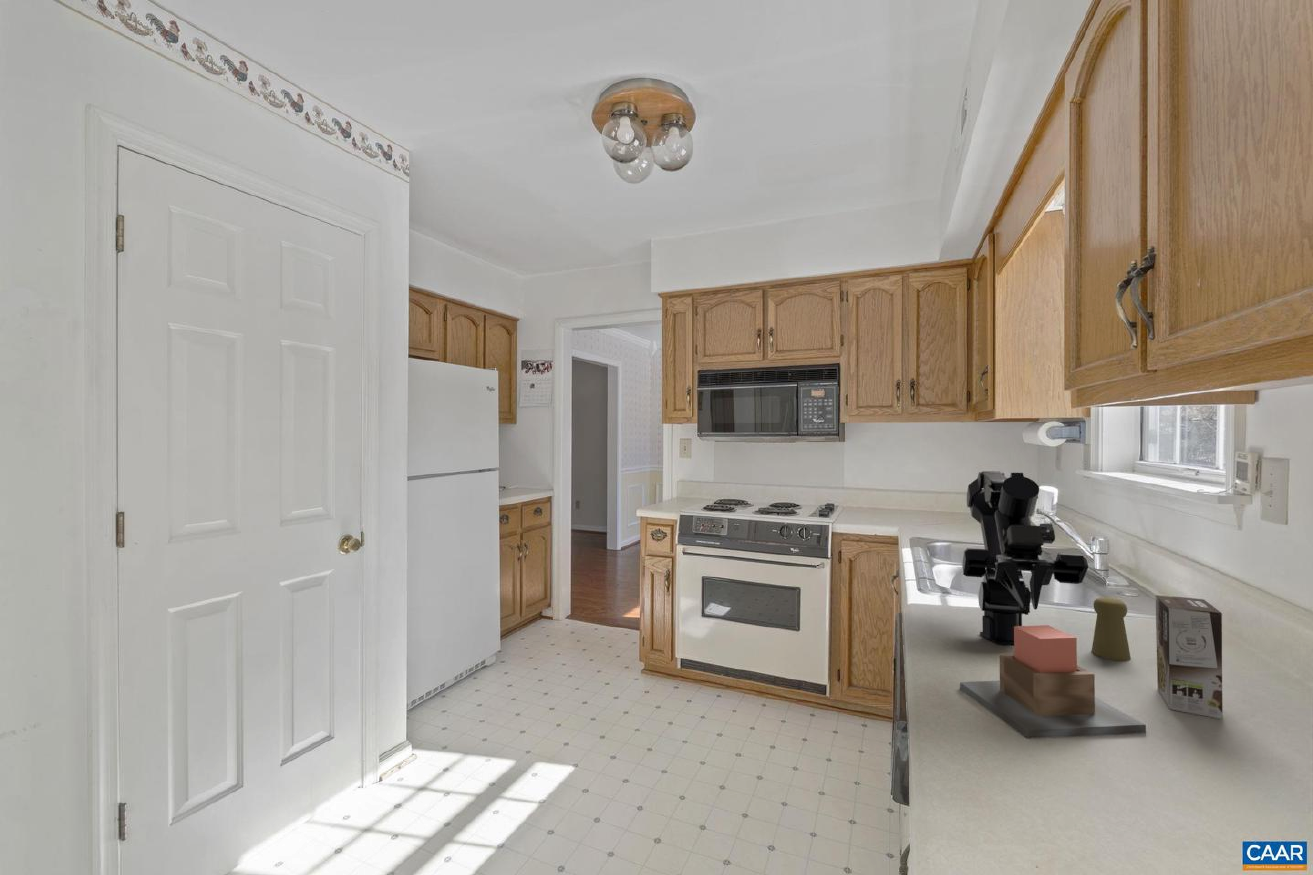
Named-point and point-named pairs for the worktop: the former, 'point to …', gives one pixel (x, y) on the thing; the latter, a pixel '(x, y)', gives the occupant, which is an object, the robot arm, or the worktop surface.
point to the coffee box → (1189, 655)
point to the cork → (1110, 630)
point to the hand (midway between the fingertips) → (1030, 607)
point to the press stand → (1049, 702)
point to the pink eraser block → (1045, 649)
